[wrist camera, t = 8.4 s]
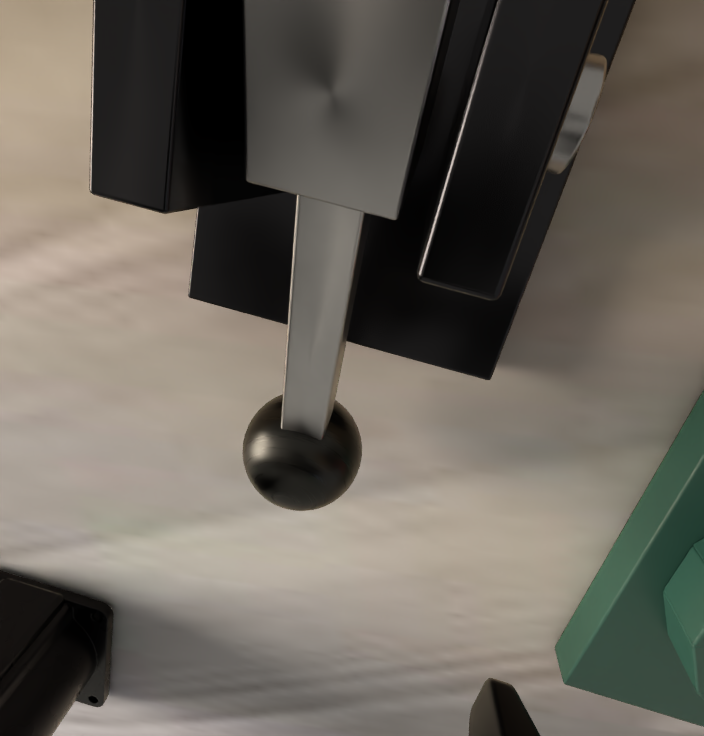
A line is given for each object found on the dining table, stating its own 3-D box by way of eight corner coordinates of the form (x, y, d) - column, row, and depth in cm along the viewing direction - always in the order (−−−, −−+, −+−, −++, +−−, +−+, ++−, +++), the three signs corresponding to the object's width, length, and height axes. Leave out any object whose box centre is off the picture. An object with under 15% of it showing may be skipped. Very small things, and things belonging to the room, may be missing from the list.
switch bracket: (486, 366, 15) (544, 594, 7) (204, 288, 16) (-43, 419, 8) (679, -149, 10) (1524, -1236, 2) (266, -240, 11) (-223, -1407, 3)
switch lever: (363, 449, 16) (337, 544, 14) (266, 421, 16) (226, 512, 14) (516, -63, 7) (512, -16, 4) (282, -118, 7) (168, -96, 5)
